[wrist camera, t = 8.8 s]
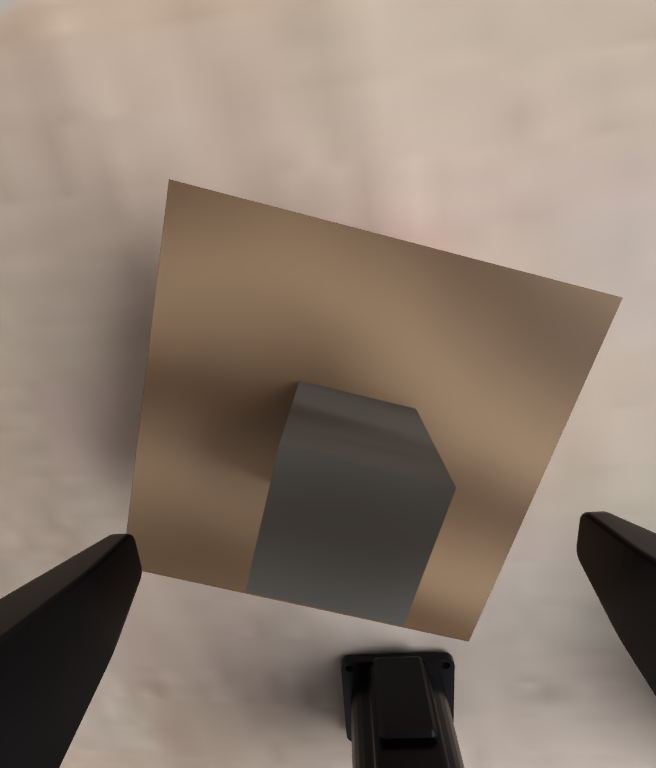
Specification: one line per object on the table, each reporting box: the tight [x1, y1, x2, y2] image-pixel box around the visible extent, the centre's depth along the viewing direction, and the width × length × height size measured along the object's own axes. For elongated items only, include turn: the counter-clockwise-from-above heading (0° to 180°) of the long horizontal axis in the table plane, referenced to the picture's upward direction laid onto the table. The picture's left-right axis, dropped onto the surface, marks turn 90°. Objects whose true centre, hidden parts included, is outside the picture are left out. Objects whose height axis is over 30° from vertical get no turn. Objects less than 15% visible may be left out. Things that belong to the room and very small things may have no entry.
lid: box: [126, 180, 622, 641], centre depth 12 cm, size 14×14×6 cm
